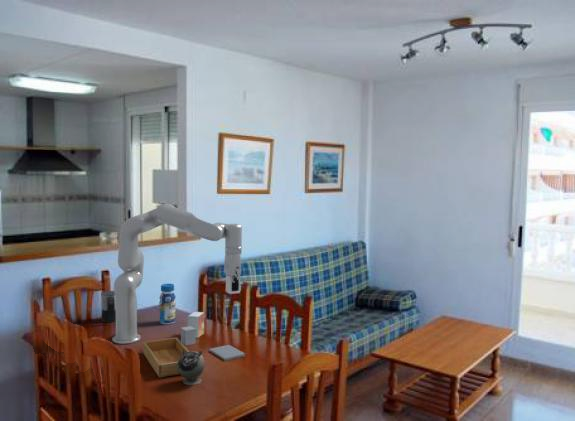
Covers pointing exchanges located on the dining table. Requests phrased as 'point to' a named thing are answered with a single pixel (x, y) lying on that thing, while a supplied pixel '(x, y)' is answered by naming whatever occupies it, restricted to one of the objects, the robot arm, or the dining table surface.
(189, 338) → the grey block
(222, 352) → the grey mat
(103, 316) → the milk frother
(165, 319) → the beverage bottle
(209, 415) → the dining table surface
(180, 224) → the robot arm
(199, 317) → the small box
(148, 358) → the tray
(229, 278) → the label box
